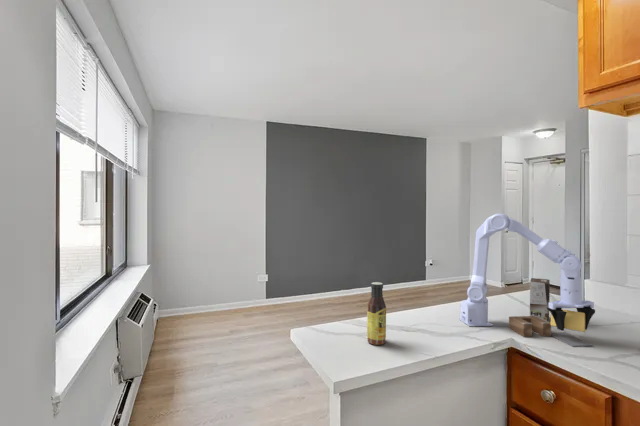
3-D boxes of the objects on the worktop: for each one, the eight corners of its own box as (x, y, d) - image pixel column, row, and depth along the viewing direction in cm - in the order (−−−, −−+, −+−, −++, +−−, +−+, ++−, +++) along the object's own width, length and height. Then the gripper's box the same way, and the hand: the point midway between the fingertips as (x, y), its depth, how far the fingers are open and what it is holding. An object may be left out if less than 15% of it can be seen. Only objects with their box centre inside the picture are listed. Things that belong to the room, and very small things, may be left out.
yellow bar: (583, 331, 106) (583, 312, 107) (550, 325, 112) (551, 307, 114) (585, 332, 107) (585, 314, 109) (552, 326, 114) (553, 308, 116)
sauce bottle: (381, 347, 104) (381, 286, 103) (363, 343, 107) (364, 284, 107) (388, 340, 109) (388, 282, 109) (371, 336, 112) (371, 280, 112)
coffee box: (548, 324, 124) (549, 283, 124) (529, 321, 128) (529, 281, 128) (549, 318, 131) (550, 279, 131) (530, 315, 135) (531, 277, 135)
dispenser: (523, 337, 112) (523, 323, 112) (508, 328, 120) (508, 315, 120) (550, 336, 113) (551, 322, 113) (534, 328, 121) (534, 315, 121)
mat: (572, 346, 104) (572, 345, 104) (546, 333, 115) (546, 332, 115) (593, 346, 105) (593, 345, 105) (565, 333, 116) (565, 332, 116)
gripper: (559, 293, 105) (560, 334, 105) (601, 291, 106) (602, 332, 106) (543, 288, 112) (544, 326, 112) (583, 286, 113) (584, 325, 113)
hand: (571, 329), depth 109 cm, fingers open, 7 cm apart
